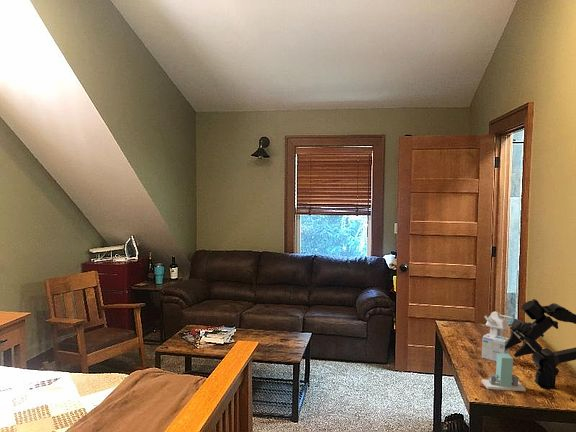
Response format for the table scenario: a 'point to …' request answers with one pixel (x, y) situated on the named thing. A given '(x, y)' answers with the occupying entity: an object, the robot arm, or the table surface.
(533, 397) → the table surface
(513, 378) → the shaft bracket
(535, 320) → the robot arm
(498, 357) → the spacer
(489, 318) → the white mech figurine
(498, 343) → the light bulb box
